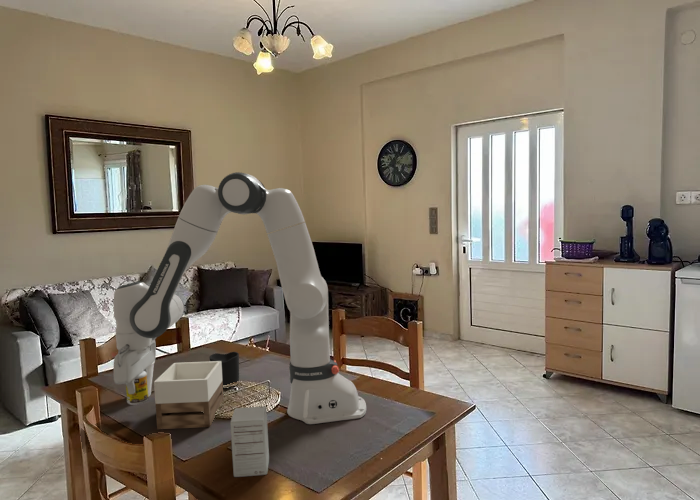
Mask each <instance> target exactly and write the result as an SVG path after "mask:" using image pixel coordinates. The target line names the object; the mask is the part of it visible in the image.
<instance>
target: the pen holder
mask: <svg viewBox="0 0 700 500" xmlns="http://www.w3.org/2000/svg"><path fill="white" fill-rule="evenodd" d="M239 354H240V353H238V351H231V352H228V353H218V352H217V353H212V354H210V356H209V357H208V358H209V361H221V363H222V380H223V385H227V384H230V383H233V382H237V381H239V382H240V355H239Z"/></svg>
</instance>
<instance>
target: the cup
mask: <svg viewBox="0 0 700 500" xmlns="http://www.w3.org/2000/svg"><path fill="white" fill-rule="evenodd" d="M155 363H156V360H155V361H154V362H153V363H152V364H151V365H150V366H148V371H147V385H148V398H149V397H151V395H152V385H153V378H154V377H153V376H154V366H155Z"/></svg>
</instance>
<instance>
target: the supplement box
mask: <svg viewBox="0 0 700 500" xmlns="http://www.w3.org/2000/svg"><path fill="white" fill-rule="evenodd" d="M267 414H268V412H267V406H265V405H264V406H248V407H247V406H246V407H237V408H234V410H233V413H232V416H231V419H230V433H231V434H230V437H231V439H230V440H231V454H232V455H231V457H232V469H233V477H234V478H241V477H253V476H255V477H256V476H264V475H265V476H267V474H268V471H269V464H270V451H269V447H270V446H269V433H268V432H269V431H268V415H267Z"/></svg>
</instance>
